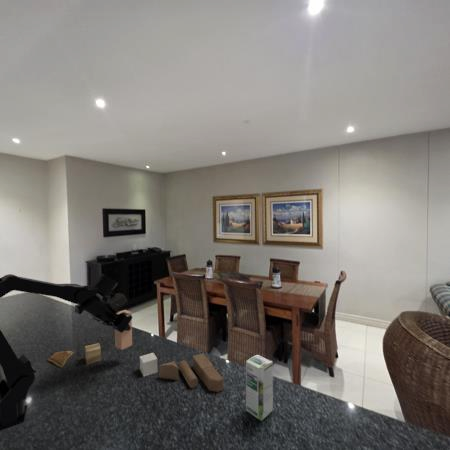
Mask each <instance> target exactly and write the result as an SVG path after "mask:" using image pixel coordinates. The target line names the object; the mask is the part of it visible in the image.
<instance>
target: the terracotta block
mask: <svg viewBox="0 0 450 450" xmlns="http://www.w3.org/2000/svg"><path fill="white" fill-rule="evenodd" d="M123 312H125V313H128V314H130V315H131V316H132V311H130V310H127V309H123V310H119V311H118V313H116V314H118V315H119V314H120V313H123ZM132 317H133V316H132ZM117 318H118V317H117ZM132 319H133V318H132ZM132 319H131V321H130V322H129V325H130V327H131V329H130V331H125V330H124V331H123V332H122V333H121V332H118V331H117V330H114V344H115V345H114V347H115V348H117V349H119V350H121V351H122V350H124V349H127V348H129V347H131V346H133V322H132V321H133V320H132Z"/></svg>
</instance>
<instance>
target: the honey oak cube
mask: <svg viewBox="0 0 450 450" xmlns="http://www.w3.org/2000/svg"><path fill="white" fill-rule="evenodd" d="M84 347H85V349H84V351H85V352H84V353H85V363H86V365H90V364H93V363H97V362H100V361H102V353H101V352H102V351H101V350H102V349H101V345H100V342H98V343H93V344H90V345H85V346H84Z"/></svg>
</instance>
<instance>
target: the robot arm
mask: <svg viewBox="0 0 450 450" xmlns="http://www.w3.org/2000/svg"><path fill="white" fill-rule="evenodd" d="M118 284H119V283H118V282H117V281H116V280H115V279H114V278H111V277H109V275H108V276H107V275H106V274H104V273H102V274H100V276H99V277H98V279H97V280H96V281H95V283H93V285H92V286H91V285H81V284H78V283H53V282H49V281H44V280H38V279H33V278H29V277H22V276H18V275H15V274H6V275H4V276H2V277H0V299H1V298H3V297H4V296H6V295H7V294H9V293H11V292H13V291H17V292H21V293H22V292H23V293H28V294H36V295H42V296H48V297H49V296H50V297H56V298H59V299H61V300H64V301H66V302H69V303H72V304H74V313H76V314H77V315H82V314H83V313H84V312H86V313H88V314H89V315H90V316H91V317H92V319H93V320H94V321H95V322H98V323H101V324H102V325H104V326H107V327H112V329H113V330H114V331H115V330H117V331H118V332H121V333H122V332H123V331H124V330H125V331H130V329H131V327H130V325H129V322H130V321H131V319H133V316H131V315H130V314H128V313H125V312H123V313H120V314H119V315H118V314H116V313H118V312H120V309H119V308H121V307H122V306H123V305H125V304H126V303H128V300H127V298H126V296H125V294H123V293H120V292H117V293H116V292H115V293H114V292H113V291H114V289H115V288H116V287H117V285H118ZM105 297H106V298H107V301H104V300H103V299H102V298H105ZM117 317H118V318H117ZM0 373H1V378H2V379H1V380H0V430H2V429H5V428H8V427H11V426H14V425H16V424H19V423H22V422H24V421H25V420H26V416H27V412H28V405H25V399H27V396H28V392H29V390H30V388H31V387H32V385H33V384H34V382H35V379H36V376H35V373H37V370H36V369H35V368H34V367H33V366H32V363H31V360H29V359H28V357H26V355H25V354H22V355H21V356H20V357H18V356H17V355H16V353H15V351H14V349H13V348H12V347H11V345H10V343H9V341H8V339H7V338H6V337H5V335H4V333H3V332H2V330H1V329H0Z"/></svg>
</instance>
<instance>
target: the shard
mask: <svg viewBox="0 0 450 450" xmlns="http://www.w3.org/2000/svg"><path fill="white" fill-rule="evenodd" d="M73 353H74V352H73V351H71V350H64V351H57V352H55V353H54V354H53V355H52V356H50V357H49V358H47V360H48V362H52V363H53V364H54V365H55V366H57V367H59V368H63V367H64V365H65V364H66V363H67V361H68V359H69V358H70V357H71V356H72V355H73Z"/></svg>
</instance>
